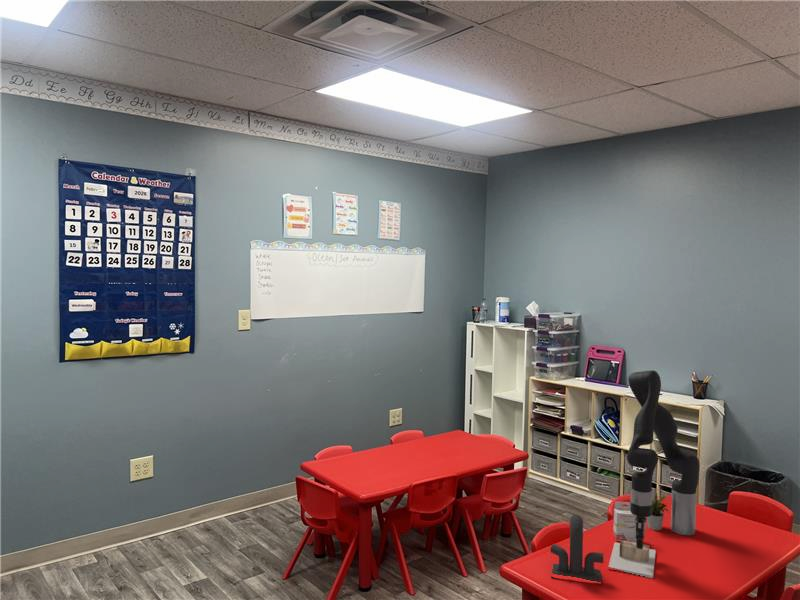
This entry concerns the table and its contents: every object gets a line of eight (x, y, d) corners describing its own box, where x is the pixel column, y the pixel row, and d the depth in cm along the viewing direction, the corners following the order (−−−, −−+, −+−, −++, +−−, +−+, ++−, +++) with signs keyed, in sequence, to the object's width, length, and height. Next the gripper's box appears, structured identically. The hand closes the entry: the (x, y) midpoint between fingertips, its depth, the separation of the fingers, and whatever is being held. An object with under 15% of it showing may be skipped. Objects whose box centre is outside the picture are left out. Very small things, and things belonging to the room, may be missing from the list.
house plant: (633, 531, 251) (633, 492, 250) (634, 518, 263) (634, 482, 263) (670, 537, 245) (671, 497, 244) (669, 524, 258) (670, 486, 257)
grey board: (614, 544, 238) (614, 542, 238) (655, 552, 231) (655, 549, 231) (608, 569, 218) (608, 566, 218) (652, 578, 212) (653, 575, 212)
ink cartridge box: (616, 541, 241) (616, 505, 240) (613, 536, 246) (613, 501, 245) (638, 542, 240) (639, 506, 239) (634, 537, 245) (635, 501, 244)
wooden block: (648, 557, 225) (620, 551, 230) (649, 545, 225) (621, 540, 230) (648, 562, 221) (619, 556, 226) (648, 550, 221) (619, 544, 226)
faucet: (601, 564, 222) (602, 511, 221) (603, 585, 207) (604, 528, 206) (550, 557, 227) (551, 505, 226) (549, 577, 212) (550, 522, 211)
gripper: (632, 493, 232) (631, 534, 232) (629, 506, 219) (628, 549, 219) (653, 496, 228) (652, 538, 229) (651, 509, 215) (650, 553, 216)
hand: (640, 543), depth 224 cm, fingers open, 8 cm apart
